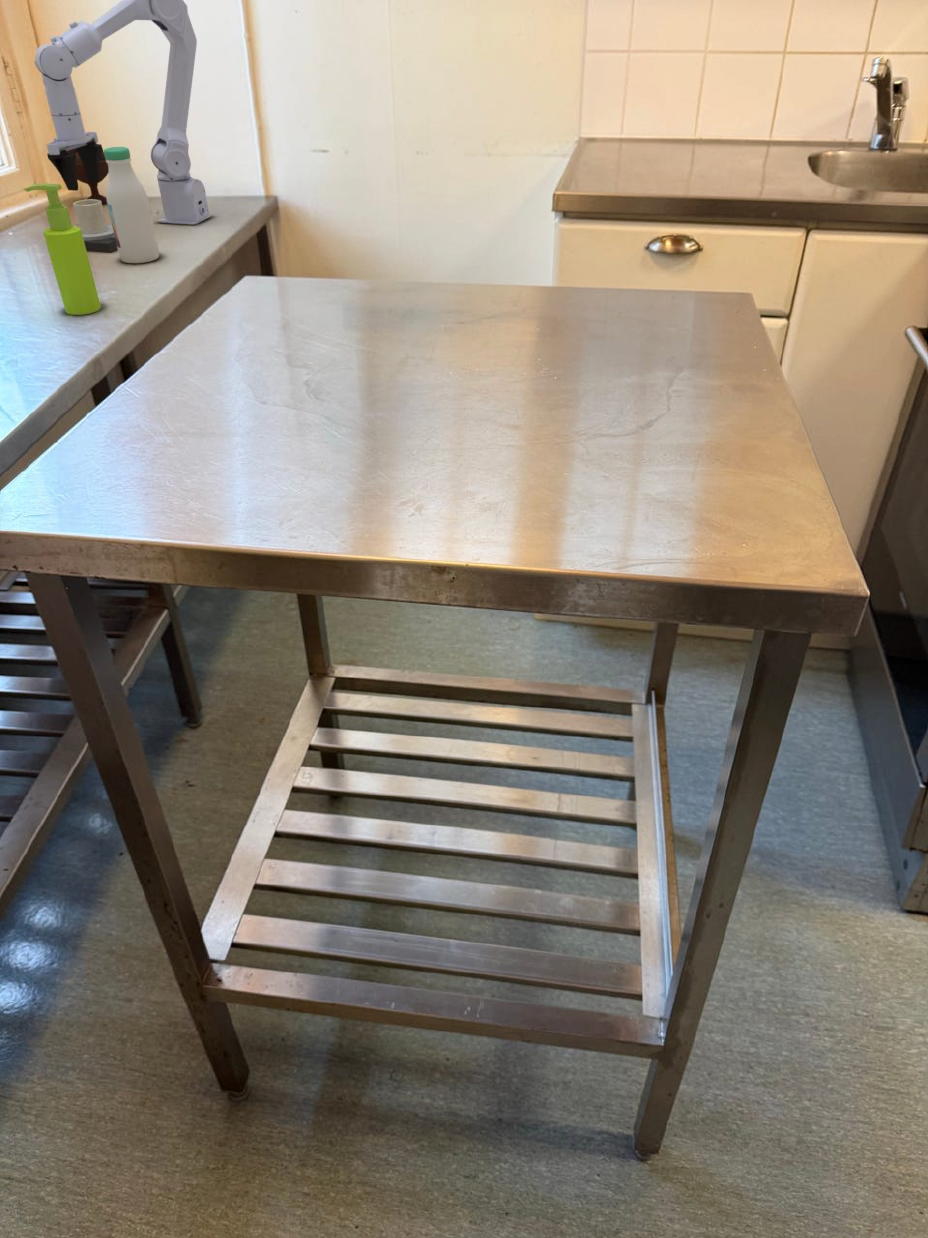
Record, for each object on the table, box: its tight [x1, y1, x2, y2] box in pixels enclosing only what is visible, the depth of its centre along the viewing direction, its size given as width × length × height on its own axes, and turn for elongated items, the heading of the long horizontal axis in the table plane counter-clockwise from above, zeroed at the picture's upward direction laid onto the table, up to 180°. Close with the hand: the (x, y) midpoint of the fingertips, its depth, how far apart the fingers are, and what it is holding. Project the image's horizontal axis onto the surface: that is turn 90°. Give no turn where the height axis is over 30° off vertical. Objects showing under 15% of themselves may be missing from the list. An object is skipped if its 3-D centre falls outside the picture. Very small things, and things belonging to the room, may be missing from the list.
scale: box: [82, 224, 118, 254], centre depth 189 cm, size 13×11×3 cm
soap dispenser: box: [24, 182, 102, 316], centre depth 150 cm, size 6×7×20 cm
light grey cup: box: [72, 198, 108, 234], centre depth 187 cm, size 6×6×6 cm
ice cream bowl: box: [67, 142, 109, 205], centre depth 216 cm, size 11×11×15 cm
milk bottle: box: [103, 146, 160, 264], centre depth 174 cm, size 8×8×20 cm
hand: (84, 185), depth 191 cm, fingers open, 7 cm apart
